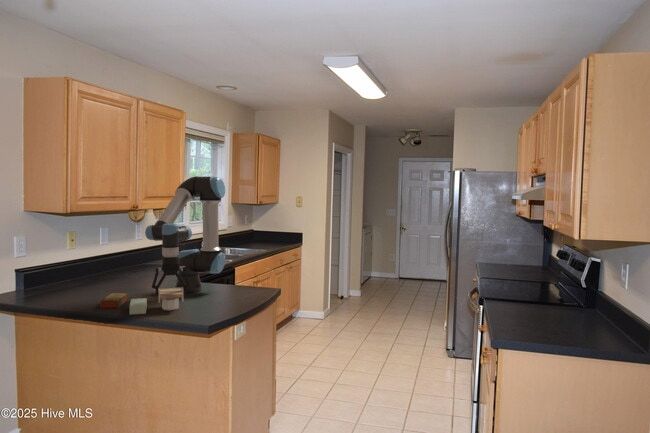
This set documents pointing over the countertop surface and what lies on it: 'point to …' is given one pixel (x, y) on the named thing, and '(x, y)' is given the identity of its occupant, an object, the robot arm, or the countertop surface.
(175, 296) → the maple board
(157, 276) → the robot arm
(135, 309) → the green stand
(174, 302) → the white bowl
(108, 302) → the carton
